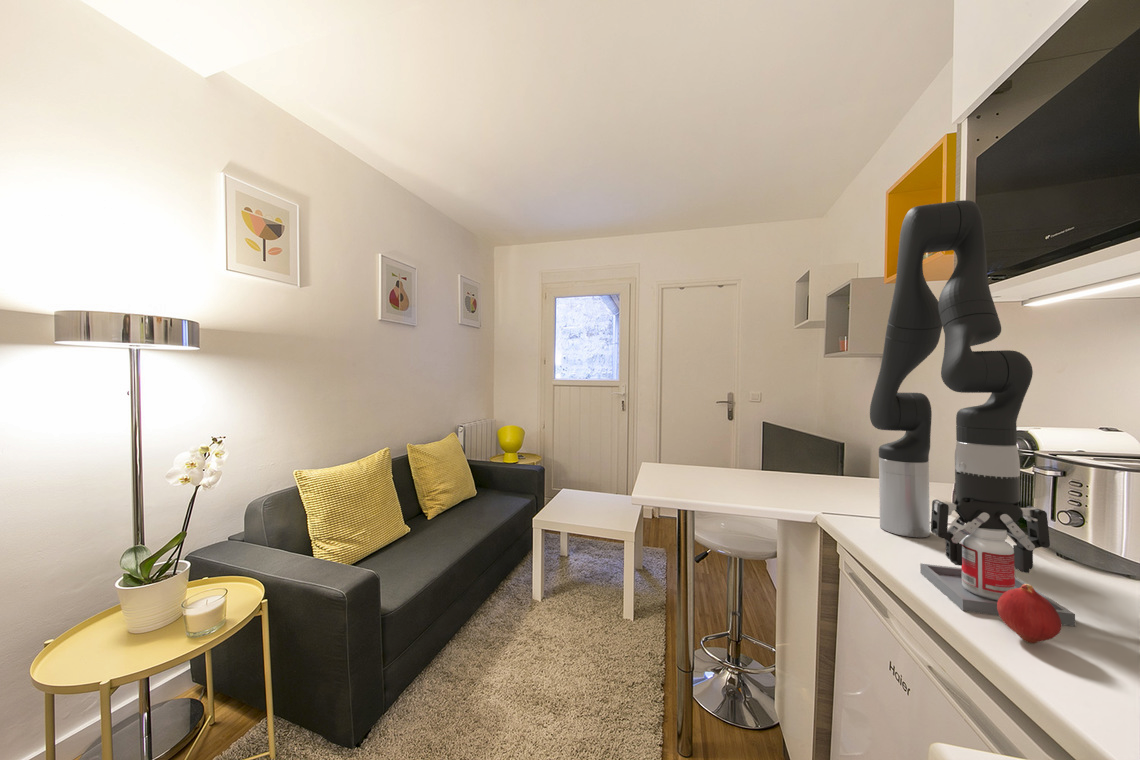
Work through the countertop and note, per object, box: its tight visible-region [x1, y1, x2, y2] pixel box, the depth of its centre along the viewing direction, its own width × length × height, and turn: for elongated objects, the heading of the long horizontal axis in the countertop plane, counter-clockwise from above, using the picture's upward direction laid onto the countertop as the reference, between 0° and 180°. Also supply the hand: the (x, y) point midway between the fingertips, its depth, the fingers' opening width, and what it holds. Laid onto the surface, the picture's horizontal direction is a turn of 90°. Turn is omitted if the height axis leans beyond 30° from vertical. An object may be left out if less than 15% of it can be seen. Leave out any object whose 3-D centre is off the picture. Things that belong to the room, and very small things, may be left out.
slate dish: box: [919, 562, 1076, 627], centre depth 66 cm, size 13×13×2 cm
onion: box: [997, 583, 1063, 644], centre depth 55 cm, size 6×6×8 cm
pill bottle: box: [960, 528, 1016, 601], centre depth 66 cm, size 6×6×11 cm
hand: (987, 566), depth 66 cm, fingers open, 8 cm apart
